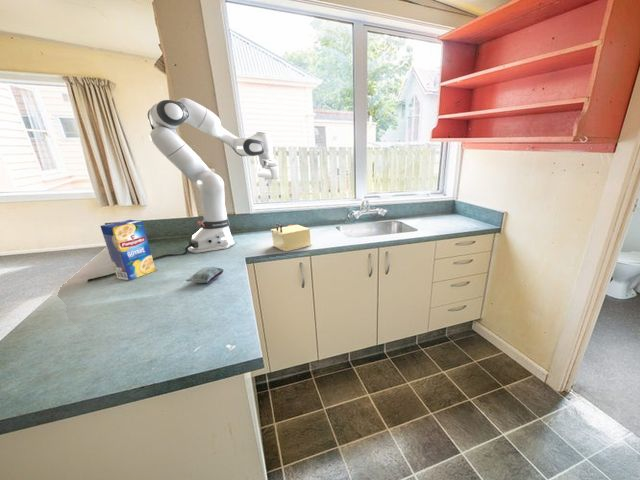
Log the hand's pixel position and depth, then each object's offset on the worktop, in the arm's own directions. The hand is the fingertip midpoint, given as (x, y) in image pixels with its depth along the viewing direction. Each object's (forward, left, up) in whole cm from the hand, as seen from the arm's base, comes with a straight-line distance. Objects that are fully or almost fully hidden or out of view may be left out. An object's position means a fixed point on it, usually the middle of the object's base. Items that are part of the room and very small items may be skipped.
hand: (268, 185), depth 180 cm
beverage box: (-73, -25, -29) cm, 82 cm away
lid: (-6, -34, -20) cm, 40 cm away
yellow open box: (-6, -34, -29) cm, 45 cm away
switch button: (+6, -12, -25) cm, 29 cm away
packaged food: (-54, -51, -29) cm, 80 cm away
